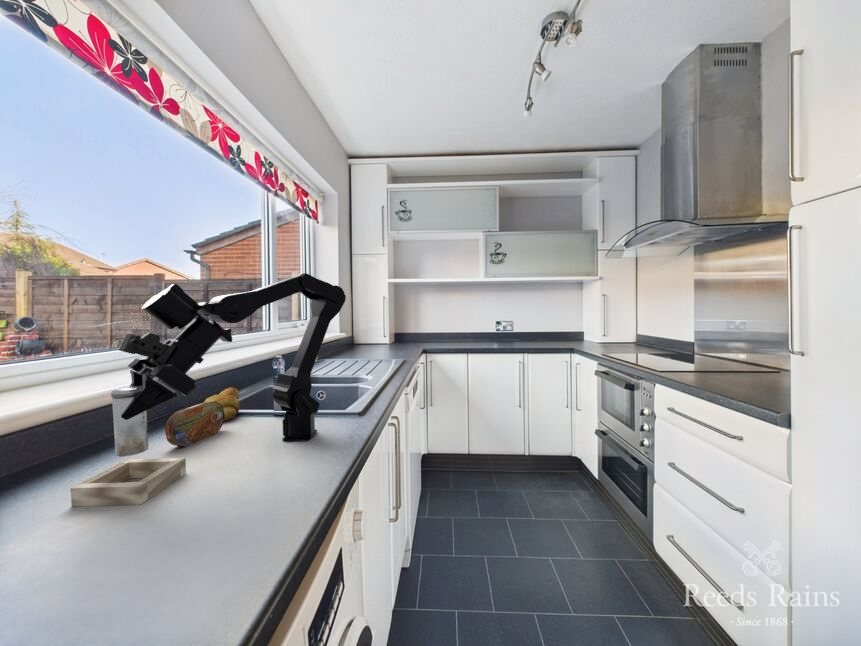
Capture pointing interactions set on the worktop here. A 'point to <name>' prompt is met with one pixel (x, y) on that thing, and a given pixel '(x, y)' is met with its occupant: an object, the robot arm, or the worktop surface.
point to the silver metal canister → (128, 424)
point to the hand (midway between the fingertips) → (120, 415)
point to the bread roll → (227, 402)
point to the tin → (194, 423)
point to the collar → (114, 492)
